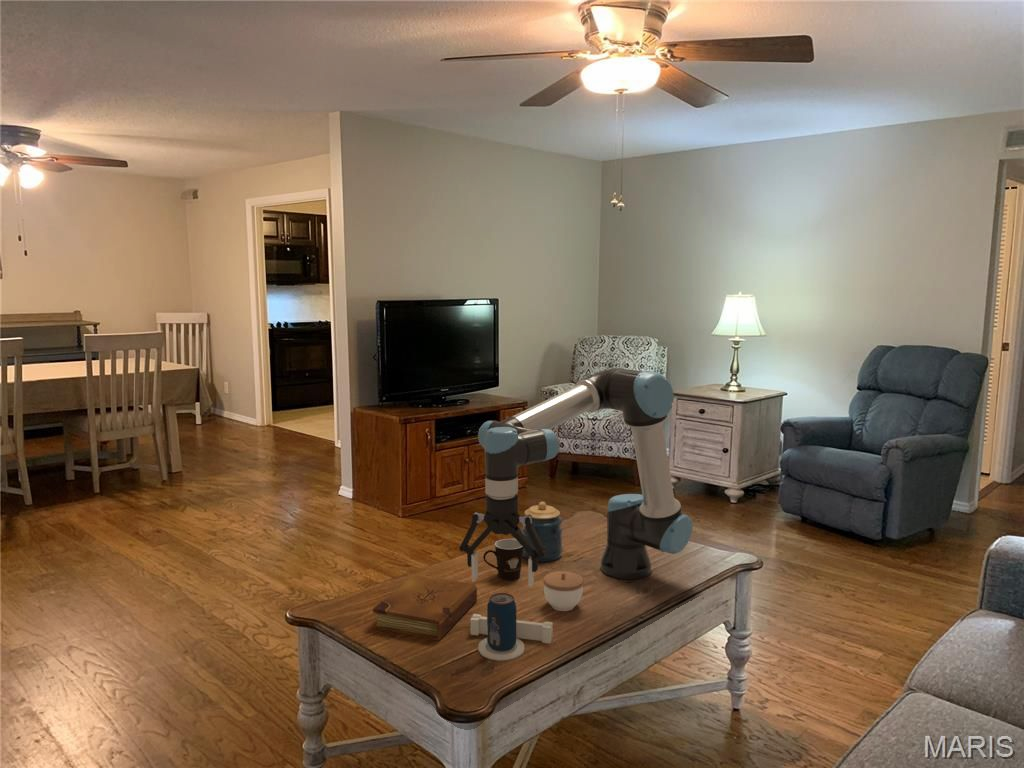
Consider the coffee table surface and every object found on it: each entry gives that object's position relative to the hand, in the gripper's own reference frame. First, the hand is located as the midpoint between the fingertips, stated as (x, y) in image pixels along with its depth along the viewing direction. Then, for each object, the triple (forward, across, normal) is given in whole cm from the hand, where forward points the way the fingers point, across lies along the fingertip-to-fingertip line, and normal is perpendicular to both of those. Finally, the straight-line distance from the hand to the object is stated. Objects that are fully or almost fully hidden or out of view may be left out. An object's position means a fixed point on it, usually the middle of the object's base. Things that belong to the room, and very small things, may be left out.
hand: (502, 581), depth 169 cm
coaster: (+17, 0, 0) cm, 17 cm away
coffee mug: (+17, +9, -42) cm, 46 cm away
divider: (+17, -1, -6) cm, 18 cm away
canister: (+18, +1, -60) cm, 63 cm away
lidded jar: (+17, -11, -26) cm, 33 cm away
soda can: (+16, 0, 0) cm, 16 cm away
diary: (+17, +24, -12) cm, 32 cm away
